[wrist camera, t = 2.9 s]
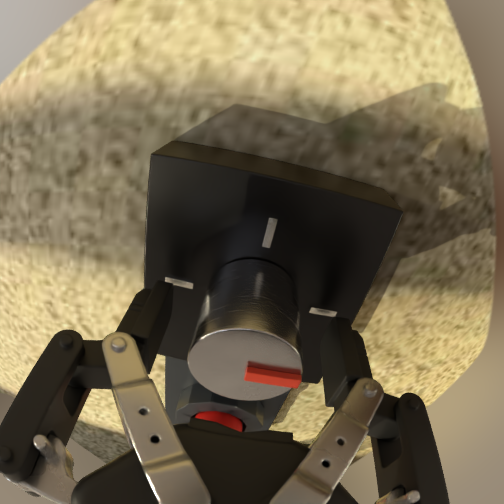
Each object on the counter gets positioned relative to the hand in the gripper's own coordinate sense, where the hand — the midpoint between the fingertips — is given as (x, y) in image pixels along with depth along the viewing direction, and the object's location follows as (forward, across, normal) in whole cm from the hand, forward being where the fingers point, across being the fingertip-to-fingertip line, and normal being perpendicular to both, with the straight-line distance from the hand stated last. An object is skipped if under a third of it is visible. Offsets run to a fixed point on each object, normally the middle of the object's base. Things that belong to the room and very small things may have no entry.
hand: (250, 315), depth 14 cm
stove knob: (+1, 0, 0) cm, 1 cm away
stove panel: (+4, 0, 0) cm, 4 cm away
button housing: (+4, 0, +12) cm, 13 cm away
